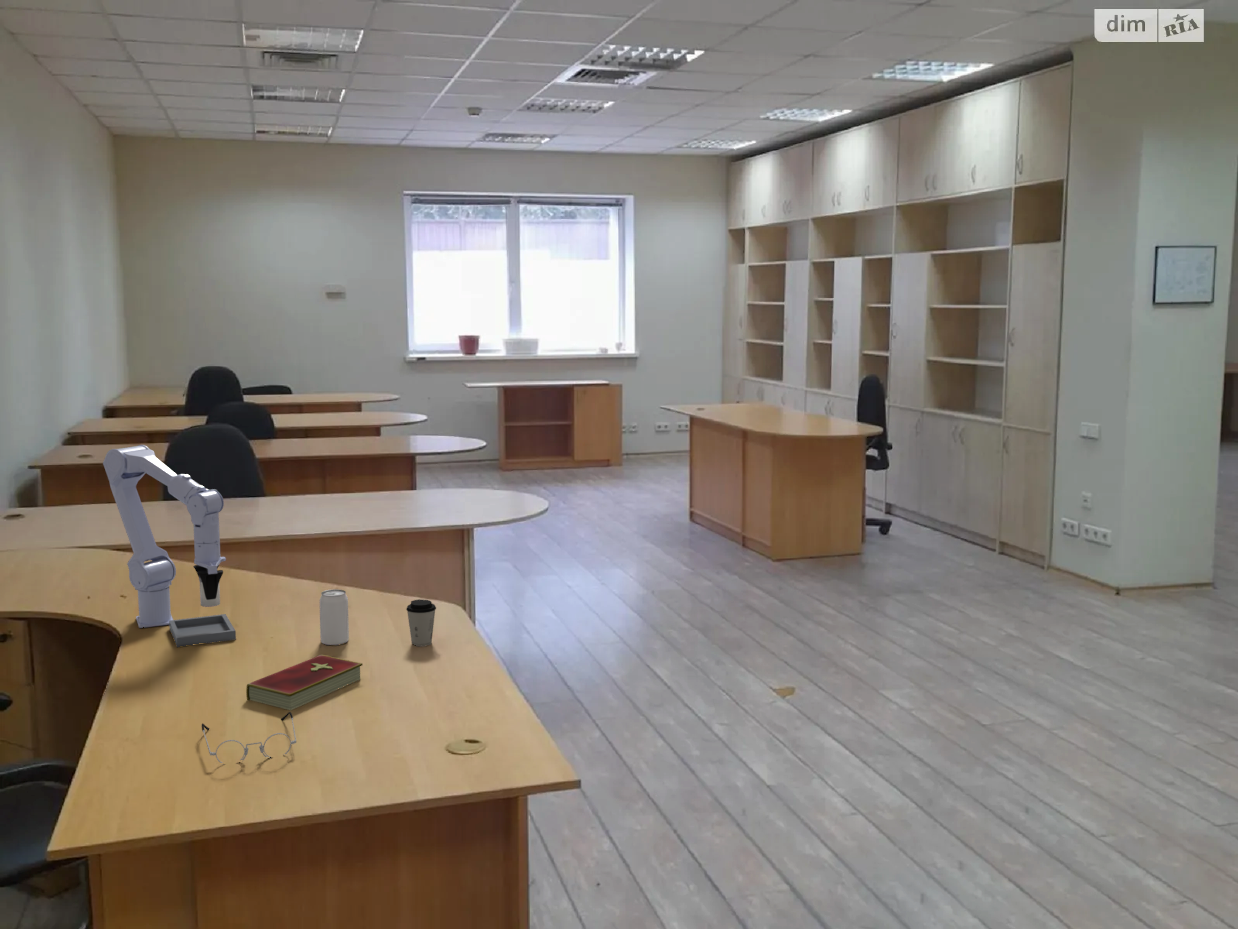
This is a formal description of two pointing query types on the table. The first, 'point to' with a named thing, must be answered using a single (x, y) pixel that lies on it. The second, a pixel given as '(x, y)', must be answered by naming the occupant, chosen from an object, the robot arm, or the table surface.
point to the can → (334, 617)
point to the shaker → (212, 601)
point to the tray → (202, 630)
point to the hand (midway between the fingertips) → (209, 596)
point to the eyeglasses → (252, 743)
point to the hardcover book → (304, 682)
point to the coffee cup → (421, 621)
